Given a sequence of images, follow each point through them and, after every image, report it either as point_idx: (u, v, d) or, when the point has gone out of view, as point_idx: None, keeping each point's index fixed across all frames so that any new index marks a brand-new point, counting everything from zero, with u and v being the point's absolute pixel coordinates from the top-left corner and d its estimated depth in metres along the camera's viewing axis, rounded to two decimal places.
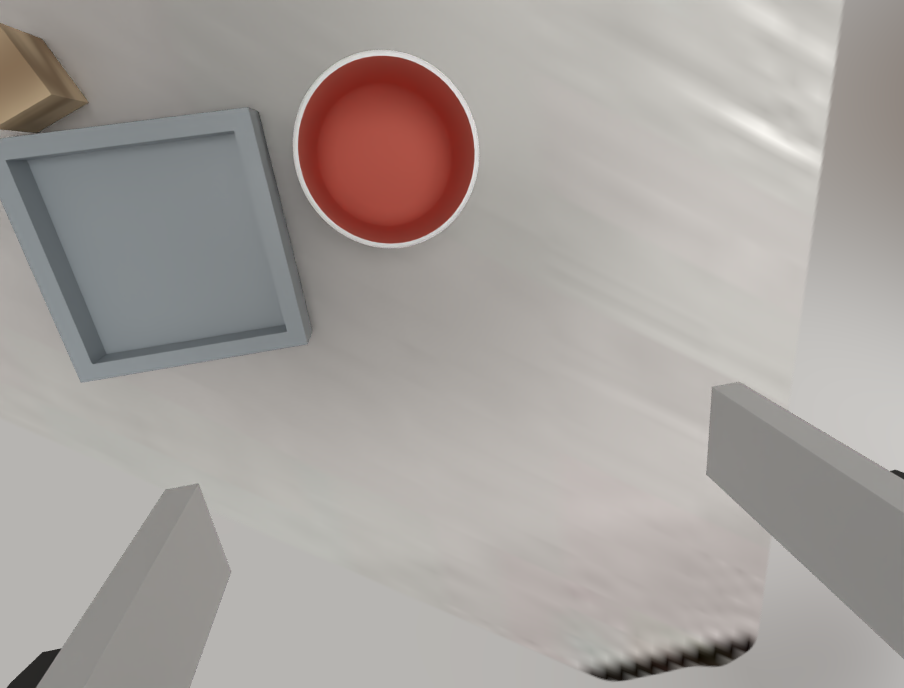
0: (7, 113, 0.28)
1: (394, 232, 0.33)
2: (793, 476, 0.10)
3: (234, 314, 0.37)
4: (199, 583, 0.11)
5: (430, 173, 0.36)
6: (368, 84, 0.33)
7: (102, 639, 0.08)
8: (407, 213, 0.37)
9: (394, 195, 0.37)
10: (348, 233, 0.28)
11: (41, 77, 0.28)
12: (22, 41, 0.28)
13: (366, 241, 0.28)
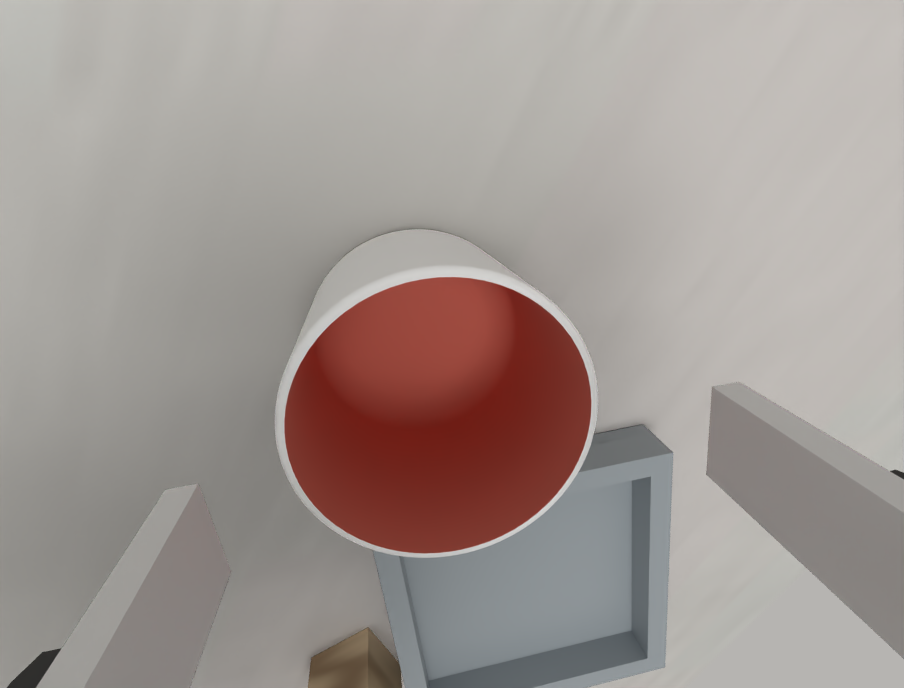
0: None
1: (541, 355, 0.20)
2: (793, 476, 0.10)
3: (609, 516, 0.29)
4: (199, 583, 0.11)
5: None
6: (319, 362, 0.23)
7: (102, 639, 0.08)
8: (495, 299, 0.24)
9: (469, 318, 0.24)
10: (566, 482, 0.17)
11: None
12: None
13: (582, 456, 0.16)
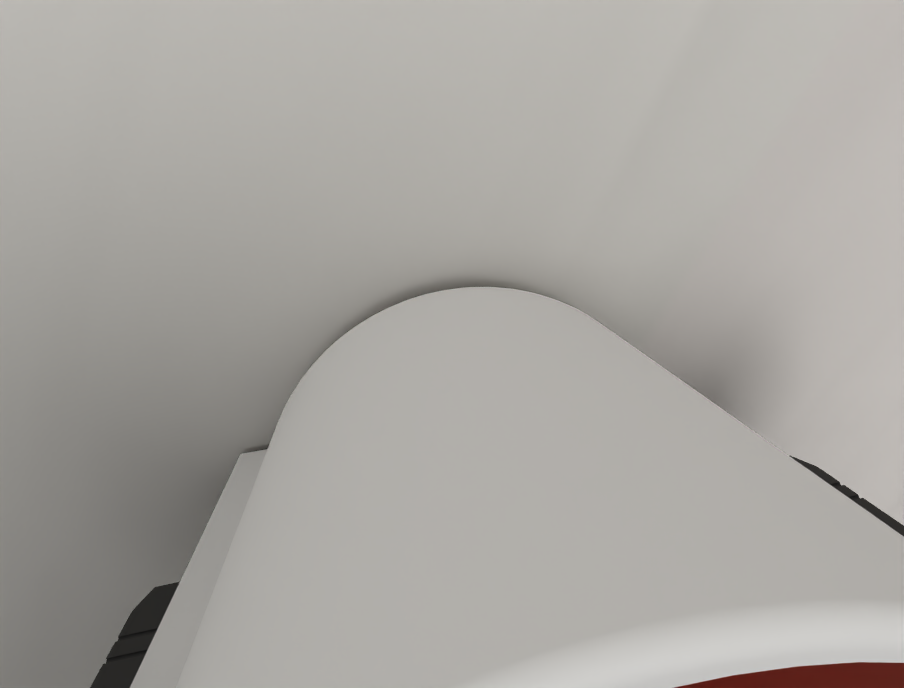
0: None
1: None
2: None
3: None
4: None
5: None
6: None
7: (217, 570, 0.09)
8: None
9: None
10: None
11: None
12: None
13: None
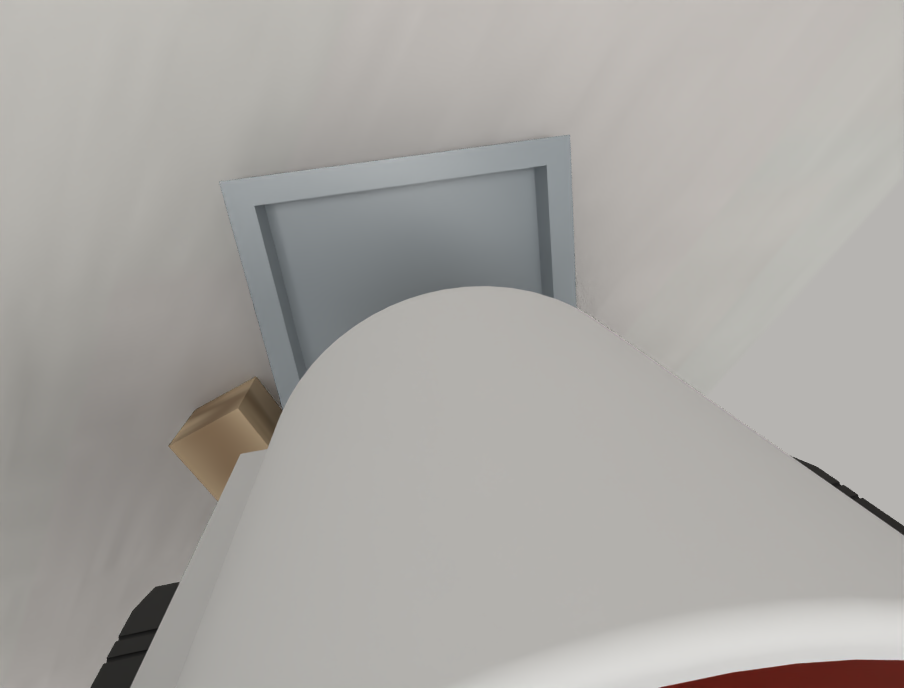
0: None
1: None
2: None
3: (513, 245, 0.26)
4: None
5: None
6: None
7: (217, 570, 0.09)
8: None
9: None
10: None
11: (222, 414, 0.25)
12: (190, 426, 0.26)
13: None
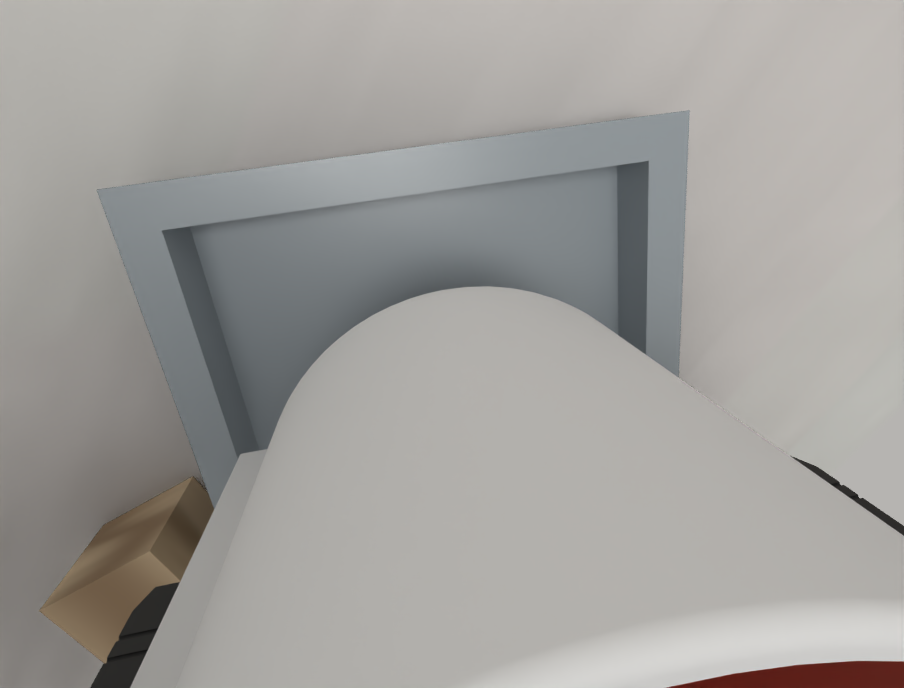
0: None
1: None
2: None
3: (579, 283, 0.17)
4: None
5: None
6: None
7: (217, 570, 0.09)
8: None
9: None
10: None
11: (126, 558, 0.16)
12: (81, 569, 0.16)
13: None
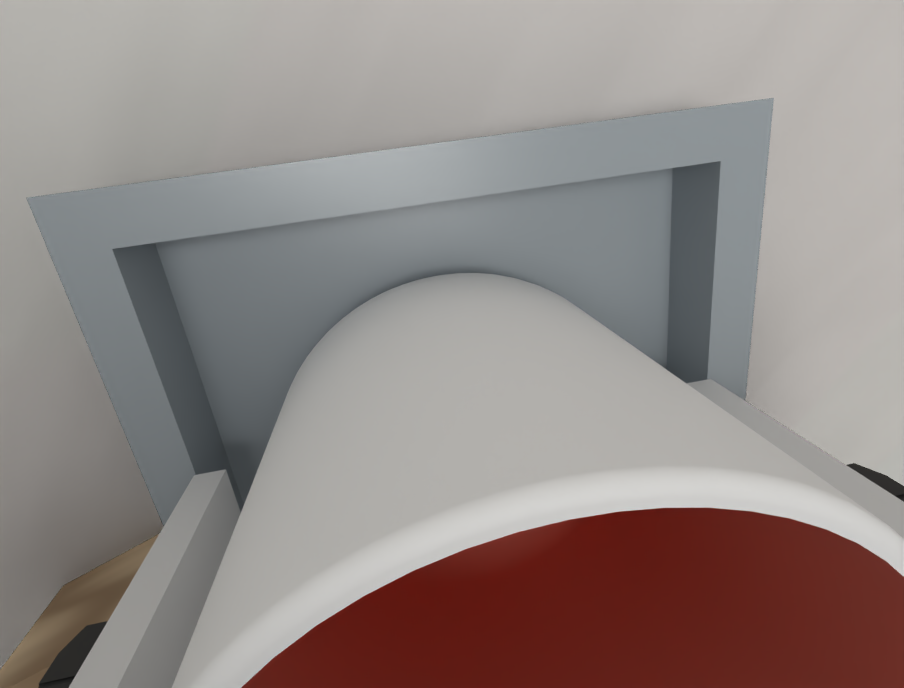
0: None
1: (700, 512, 0.11)
2: None
3: (623, 307, 0.15)
4: None
5: None
6: None
7: (147, 610, 0.08)
8: None
9: None
10: None
11: None
12: (29, 649, 0.14)
13: None
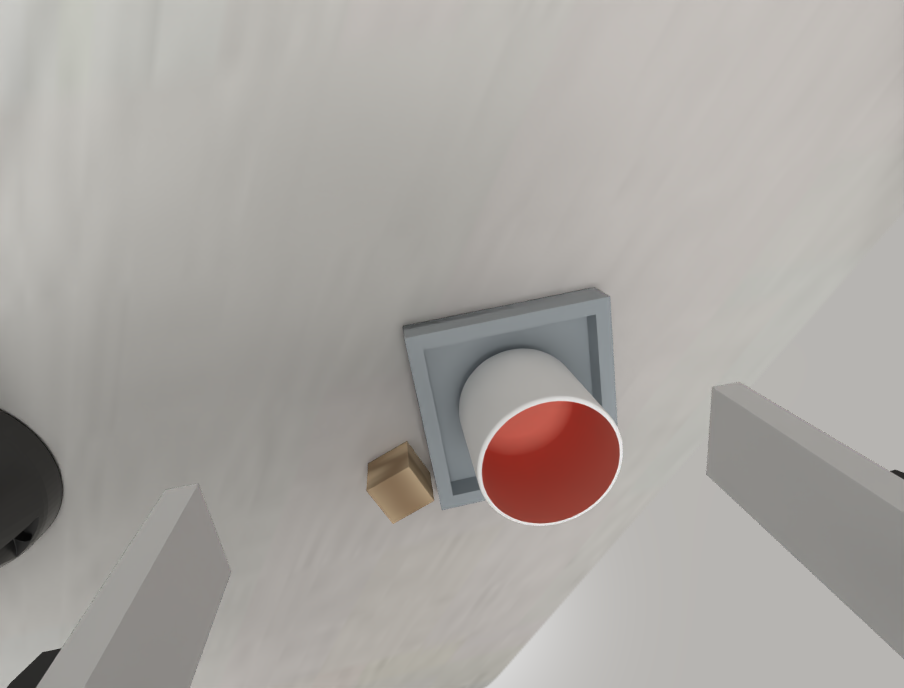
0: (423, 491, 0.41)
1: (591, 419, 0.38)
2: (793, 476, 0.10)
3: (573, 354, 0.41)
4: (199, 583, 0.11)
5: None
6: None
7: (102, 639, 0.08)
8: None
9: None
10: (608, 488, 0.34)
11: (398, 470, 0.40)
12: (374, 477, 0.41)
13: (615, 476, 0.34)
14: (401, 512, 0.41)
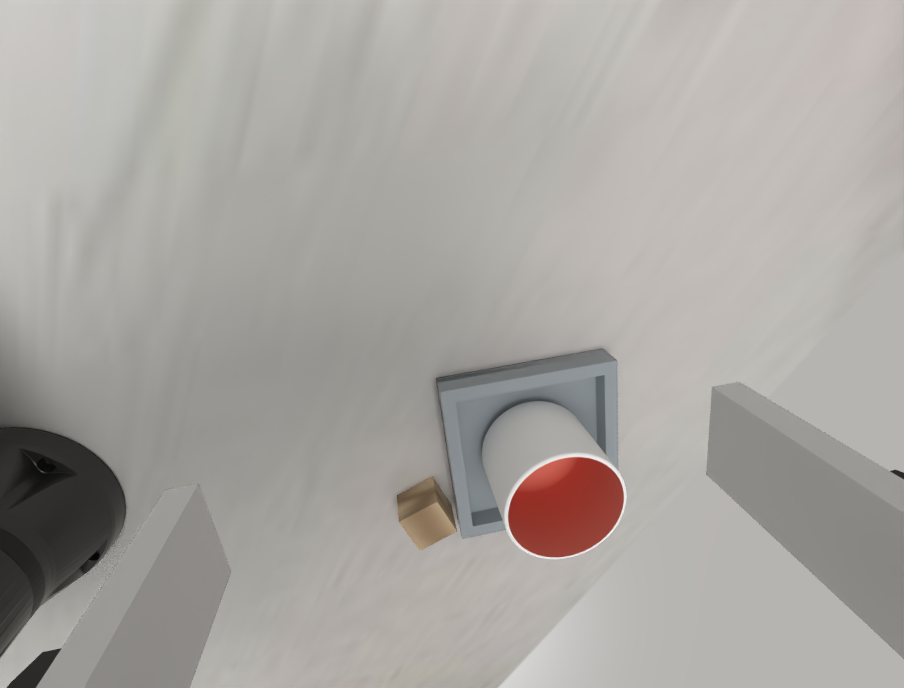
0: (448, 523, 0.46)
1: (597, 465, 0.44)
2: (793, 476, 0.10)
3: (582, 406, 0.47)
4: (199, 583, 0.11)
5: None
6: None
7: (102, 639, 0.08)
8: None
9: None
10: (612, 529, 0.40)
11: (427, 504, 0.45)
12: (405, 509, 0.46)
13: (619, 518, 0.40)
14: (427, 541, 0.46)
